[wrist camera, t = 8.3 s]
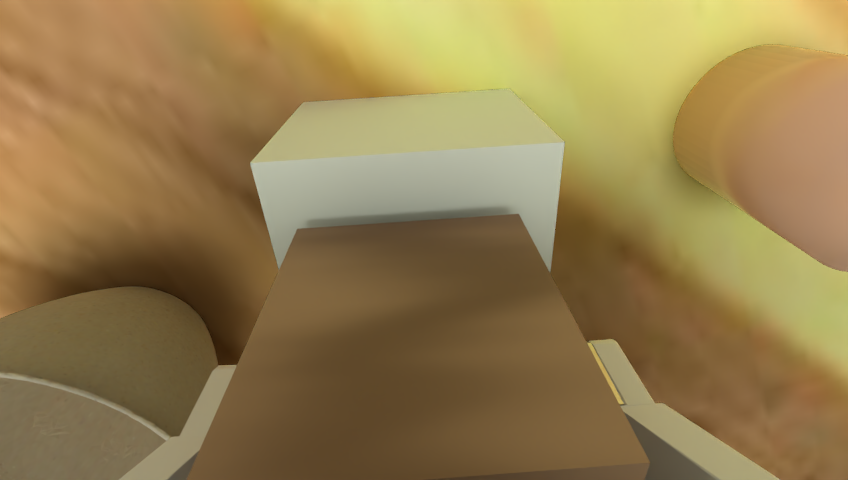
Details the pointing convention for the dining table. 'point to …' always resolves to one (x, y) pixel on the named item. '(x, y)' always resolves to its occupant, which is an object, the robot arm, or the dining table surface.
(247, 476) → the walnut block
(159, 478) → the robot arm
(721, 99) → the terracotta cylinder
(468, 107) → the grey block
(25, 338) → the flower pot
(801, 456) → the dining table surface
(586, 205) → the dining table surface
